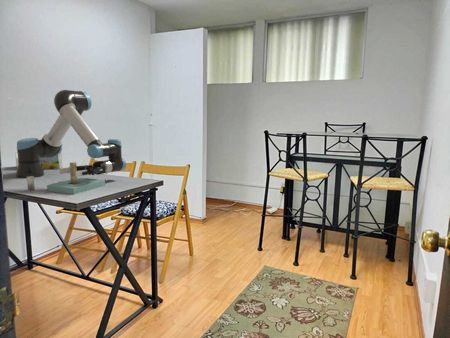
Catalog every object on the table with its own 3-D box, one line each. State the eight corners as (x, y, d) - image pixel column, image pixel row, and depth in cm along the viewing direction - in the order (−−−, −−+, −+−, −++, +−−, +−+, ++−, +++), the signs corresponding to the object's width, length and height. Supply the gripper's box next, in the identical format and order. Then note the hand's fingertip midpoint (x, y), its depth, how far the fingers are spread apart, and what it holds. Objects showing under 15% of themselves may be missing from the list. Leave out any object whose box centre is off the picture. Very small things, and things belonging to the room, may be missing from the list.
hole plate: (47, 190, 164) (47, 185, 164) (80, 182, 185) (80, 177, 184) (74, 194, 158) (73, 188, 158) (105, 185, 179) (104, 180, 178)
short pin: (26, 190, 165) (25, 176, 164) (32, 188, 168) (31, 175, 167) (30, 190, 164) (29, 177, 163) (36, 189, 167) (35, 176, 165)
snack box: (29, 168, 226) (27, 147, 223) (34, 167, 232) (32, 146, 229) (59, 169, 226) (57, 148, 223) (63, 167, 232) (61, 147, 229)
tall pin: (69, 189, 169) (68, 163, 166) (74, 187, 172) (73, 162, 169) (74, 189, 168) (72, 163, 165) (79, 188, 171) (77, 162, 168)
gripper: (117, 176, 178) (83, 182, 160) (88, 171, 190) (54, 177, 172) (116, 162, 176) (82, 168, 158) (87, 159, 189) (53, 163, 171)
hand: (67, 172), depth 165 cm, fingers open, 13 cm apart
